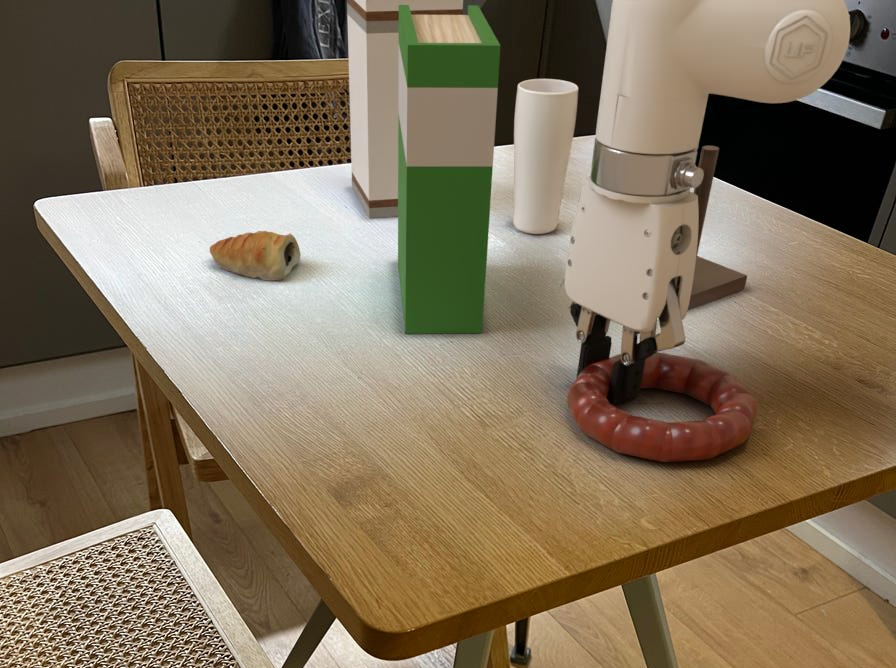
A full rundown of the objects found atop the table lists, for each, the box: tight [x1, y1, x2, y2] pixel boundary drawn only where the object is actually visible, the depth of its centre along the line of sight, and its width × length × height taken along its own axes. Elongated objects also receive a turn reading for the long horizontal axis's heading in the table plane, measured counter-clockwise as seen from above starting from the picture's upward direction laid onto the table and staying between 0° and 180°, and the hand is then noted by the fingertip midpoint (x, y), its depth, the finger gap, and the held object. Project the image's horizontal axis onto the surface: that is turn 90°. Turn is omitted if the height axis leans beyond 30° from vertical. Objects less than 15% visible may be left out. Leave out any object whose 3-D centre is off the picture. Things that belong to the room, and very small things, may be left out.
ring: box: [566, 351, 758, 463], centre depth 80 cm, size 15×15×3 cm
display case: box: [346, 0, 464, 219], centre depth 110 cm, size 11×11×35 cm
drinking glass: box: [512, 78, 579, 235], centre depth 110 cm, size 7×7×15 cm
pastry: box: [209, 230, 301, 281], centre depth 103 cm, size 9×7×4 cm
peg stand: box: [687, 145, 748, 311], centre depth 98 cm, size 9×9×14 cm
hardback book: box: [397, 4, 501, 335], centre depth 91 cm, size 18×7×24 cm, turn 3°
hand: (606, 390), depth 84 cm, fingers closed on ring, 3 cm apart
